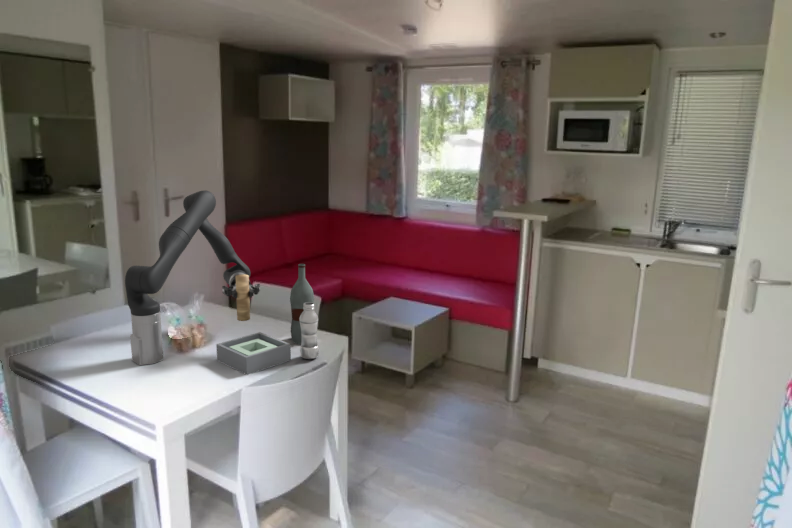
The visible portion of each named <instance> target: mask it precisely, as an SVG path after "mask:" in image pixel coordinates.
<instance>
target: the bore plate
mask: <svg viewBox="0 0 792 528" xmlns="http://www.w3.org/2000/svg"><path fill="white" fill-rule="evenodd" d="M275 347H278V346H275V345H273V344H270V343H268V342H265V341H263V340H260V339H255V340H251V341H248V342H244V343H241V344H237V345H234V346H230V347H229V348H230V349H233V350H235V351H237V352H239V353H241V354H244V355H246V356H249V355H253V354H256V353H259V352H262V351H266V350H269V349H272V348H275Z"/></svg>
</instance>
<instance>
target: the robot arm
mask: <svg viewBox="0 0 792 528" xmlns="http://www.w3.org/2000/svg"><path fill="white" fill-rule="evenodd" d="M182 201H183V203H182V205H183V209H184V211H185V212H184V213H183V214H181V215H180V216H179V217H177V218H176V219H175V220H174V221H172V222H171V223H170V224H169V225H168V227H166V229H165V230H164V232H163V233H162V235H160V237H159V240H158V250H159V257H158V259H157V260H156V262H155V263H154V264H153V265H151V266H148V265H132V266H130V267H128V269H127V270H126V272H125V277H124V283H125V284H124V286H125V292H126V300H127V306H128V308H129V310H130V319H131V321H130V322H131V332H132V333H131V334H130V335H129V336H130V339H129V340H130V348H131V349H130V350H131V361H132V362H134V363H136V365H139V366H143V365H152V364H156V363H159V362H161V361H163V360H164V358H165V357H164V345H163V344H164V343H163V333H162V320H161V319H162V317H161V315H162V314H161V305H160V303H159V302H158V301H157V300H155V299H153V298H152V297H150V295H153V294H157V293H158V292H160V290H161V289H162V288H163V286H164V284H165V282H166V281H167V279H168V277H169V275H170V273H171V272H172V269H173V268H174V266H175V264H176V262H177V261H178V260H179V258H180V256H181V255H182V253H183V252H184V251H185V250H186V249H187V247H188V245H189V244H190V242H191V241H192V239H193V237H194V236H195V235H196V233H197V232H198V231H200V233H201V234H202V235H203V237H204V238H205V239H206V240H207V243H208V244H209V245H210V246H211V248H212V250H213V252H214V253H215V255H216V257H217V259H218V261H219V263H220V264H222V265H225V264H230V263H233V264H235V265H233V266H231V267H230V268H227V269H226V270H224V272H223V275H222V276H223V279H224V281H225V283H226V284H227V285H228V286H226V285H222V287H221V288H222V289H221V290H222V294H224V296H226V297H231V296H232V298H234V299H236V298H237V291H236V275H241V274H245V275H249V278H250V277H251V269H250V267H249V266H248V265H247V264H246V263H245V262H244V261H242V259H241V258H240V257H239V256H238V254H237V252H235V249H234V248H233V245H232V244H231V242H230V240H229V239H228V237H226V236H225V235H224V234H223V233H222V232H221V231H220V230H218V229H217V228H216V227H215V226H213V224H212V223H211V222H210V220H208V217H209V216H210V215H211V214H212V213H213V212H214V210H215V208H216V205H217V200H216V196H215V195H214V194H213V192H211V191H209V190H206V189H205V190H199V191H196V192H194V193H192V194H191V193H190V194H189V195H187V196H186V197H184V199H183V200H182ZM260 292H261V284H260V283H257V284H255V285H253V284H252V283H251V280H250V279H249V299H251V298H253V297H254V295H258V294H259V293H260Z"/></svg>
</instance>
